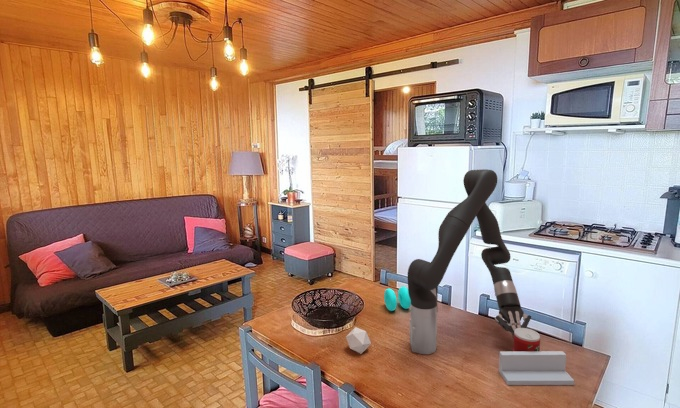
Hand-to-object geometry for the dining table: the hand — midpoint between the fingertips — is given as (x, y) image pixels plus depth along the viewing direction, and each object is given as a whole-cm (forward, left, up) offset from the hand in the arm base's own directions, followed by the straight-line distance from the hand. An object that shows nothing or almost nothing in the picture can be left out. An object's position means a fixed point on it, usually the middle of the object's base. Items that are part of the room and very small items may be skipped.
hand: (519, 343), depth 126 cm
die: (-56, +4, -5) cm, 57 cm away
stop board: (0, -12, -5) cm, 13 cm away
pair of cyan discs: (-38, +37, -5) cm, 54 cm away
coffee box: (-24, +37, -5) cm, 45 cm away
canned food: (0, -5, -5) cm, 7 cm away
